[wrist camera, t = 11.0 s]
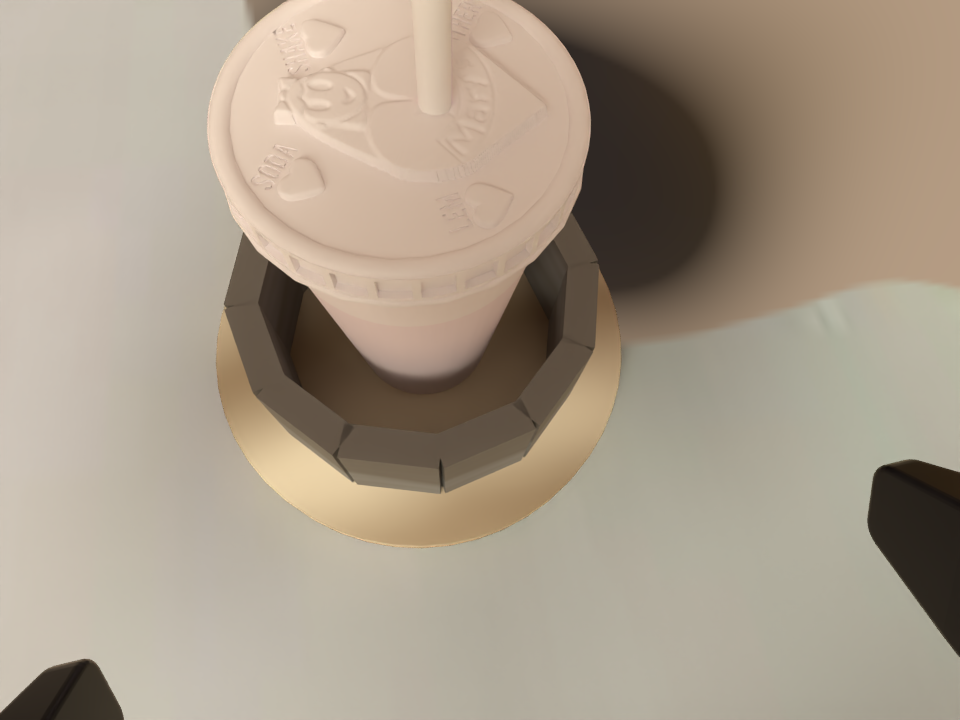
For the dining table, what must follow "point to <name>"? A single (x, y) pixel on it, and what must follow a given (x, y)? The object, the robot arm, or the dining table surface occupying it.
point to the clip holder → (420, 405)
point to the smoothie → (402, 166)
